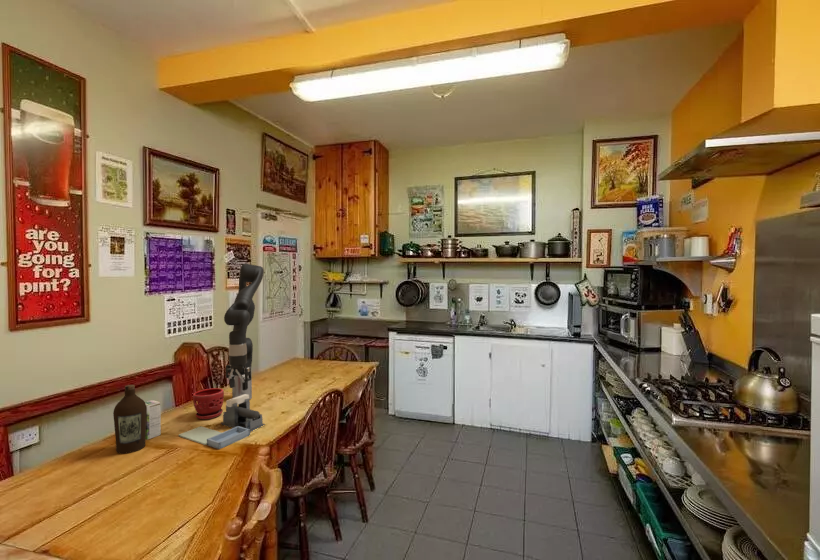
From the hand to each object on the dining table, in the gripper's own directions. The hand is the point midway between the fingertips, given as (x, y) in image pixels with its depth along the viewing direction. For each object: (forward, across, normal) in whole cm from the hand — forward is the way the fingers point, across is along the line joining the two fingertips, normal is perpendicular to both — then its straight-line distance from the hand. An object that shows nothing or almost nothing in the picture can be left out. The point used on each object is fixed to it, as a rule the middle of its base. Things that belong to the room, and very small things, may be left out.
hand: (238, 388), depth 175 cm
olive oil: (+16, -18, -36) cm, 43 cm away
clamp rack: (+16, +2, 0) cm, 16 cm away
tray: (+16, +10, -13) cm, 24 cm away
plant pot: (+16, -22, 0) cm, 27 cm away
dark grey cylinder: (+12, +3, 0) cm, 12 cm away
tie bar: (+7, 0, 0) cm, 7 cm away
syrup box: (+16, -23, -26) cm, 38 cm away
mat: (+16, -3, -16) cm, 23 cm away
